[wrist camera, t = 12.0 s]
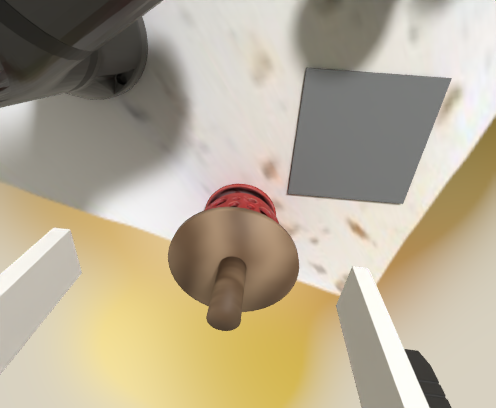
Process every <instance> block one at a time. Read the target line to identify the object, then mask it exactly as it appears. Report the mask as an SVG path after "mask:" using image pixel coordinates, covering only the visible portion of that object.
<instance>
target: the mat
mask: <svg viewBox="0 0 496 408" xmlns="http://www.w3.org/2000/svg"><path fill="white" fill-rule="evenodd" d="M451 79H452V78H441V77H427V76H413V75H399V74H385V73H371V72H357V71H344V70H330V69H316V68H306V74H305V81H304V87H303V94H302V101H301V108H300V114H299V121H298V128H297V135H296V141H295V148H294V155H293V162H292V168H291V175H290V182H289V189H288V194H299V195H310V196H321V197H333V198H344V199H356V200H367V201H378V202H390V203H401V204H403V202H404V200H405V197H406V195H407V192H408V190H409V187H410V184H411V182H412V179H413V177H414V174H415V171H416V169H417V166H418V164H419V161H420V159H421V156H422V153H423V151H424V148H425V146H426V143H427V141H428V138H429V135H430V133H431V130H432V128H433V125H434V123H435V120H436V117H437V115H438V112H439V110H440V107H441V104H442V102H443V99H444V97H445V94H446V92H447V89H448V86H449V84H450V81H451Z"/></svg>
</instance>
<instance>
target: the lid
mask: <svg viewBox="0 0 496 408" xmlns="http://www.w3.org/2000/svg"><path fill="white" fill-rule="evenodd" d="M168 262H169V267H170V270H171V273H172V275H173V277H174V279H175V280H176V282H177V283H178V285H179V286H180V287H181V288H182V289H183V290H184V291H185V292H186V293H187V294H188V295H190V296H191V297H192V298H194V299H195V300H198V301H199V302H201V303H203V304H205V305H207V306H209V309H208V313H207V322H208V323H209V324H210V325H211V326H212V327H213V328H215V329H218V330H222V331H230V330H233V329H235V328H237V327H238V326H239V325H240V322H241V313H242V312H247V311H254V310H259V309H262V308H266V307H268V306H270V305H273V304H275V303H276V302H278V301H280V300H281V299H282V298H283V297H285V296H286V295H287V294H288V292H290V290H291V289H292V287H293V286H294V284H295V282H296V280H297V276H298V272H299V259H298V253H297V249H296V246H295V244H294V242H293V240H292V238H291V237H290V235H289V234H288V233H287V231H286V230H285V229H284V228H283V227H282V226H281V225H280V224H278V223H277V222H276V221H274V220H273V219H271V218H269V217H268V216H266V215H264V214H262V213H259V212H256V211H253V210H250V209H246V208H240V207H218V208H212V209H208V210H205V211H202V212H200V213H198V214H196V215H194V216H192V217H191V218H189V219H188V220H186V221H185V222H184V223H183V224H182V225H181V226H180V228H179V229H178V230H177V232H176V233H175V235H174V237H173V239H172V241H171V244H170V247H169V252H168Z"/></svg>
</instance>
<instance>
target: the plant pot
mask: <svg viewBox="0 0 496 408" xmlns="http://www.w3.org/2000/svg"><path fill="white" fill-rule="evenodd" d="M218 207H240V208H246V209H250V210H253V211H256V212H259V213H262V214H264V215H266V216H268V217H269V218H271V219H273V220H274V221H276V222H277V223H278V224H279V222H278V220H277V218H276V211H275V207H274V205H273V203H272V201H271V199H270V198H269V197H268V196H267V195H266V194H265V193H264V192H263V191H261V190H260V189H258V188H256V187H253V186H251V185H246V184H232V185H228V186H225V187H222V188H220V189H219V190H217V191H216V192H215V193H214V194H213V195H212V196H211V197H210V198H209V200H208V202H207V204H206V208H205V210H208V209H212V208H218Z"/></svg>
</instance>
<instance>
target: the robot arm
mask: <svg viewBox="0 0 496 408" xmlns="http://www.w3.org/2000/svg"><path fill="white" fill-rule="evenodd" d="M162 1H163V0H0V108H1V107H6V106H10V105H14V104H19V103H23V102H27V101H32V100H36V99H40V98H45V97H49V96H53V95H58V94H62V93H67V94H71V95H74V96H78V97H82V98H86V99H107V98H111V97H114V96H117V95H120V94H122V93H124V92H126V91H128V90H129V89H130V88H132V87H133V86H134V85H135V83H136V82H137V81H138V79H139V78H140V76H141V74H142V72H143V70H144V67H145V64H146V59H147V49H148V46H147V34H146V29H145V25H144V21H143V18H142V16H143V15H144V14H146V13H147V12H148V11H150V10H151V9H152V8H154V7H155V6H156V5H158V4H159V3H160V2H162ZM81 273H82V272H81V268H80V264H79V261H78V257H77V253H76V249H75V246H74V242H73V238H72V234H71V231H70V229H62V228H53V229H51V230H50V231H49V232H48V233H47V234H46V235H45V236H43V237H42V238H41V239H40V240H39V241H38V242H36V243H35V244H34V245H33V246H32V247H31V248H30V249H28V250H27V251H26V252H25V253H24V254H23V255H22V256H20V257H19V258H18V259H17V260H16V261H15V262H14V263H12V264H11V265H10V266H9V267H8V268H7V269H6V270H4V271H3V272H2V273H1V274H0V374H1V373H2V372H3V370H4V369H5V368H6V367H7V365H8V364H9V363H10V362H11V360H12V359H13V358H14V357H15V355H16V354H17V353H18V352H19V351H20V349H21V348H22V347H23V346H24V344H25V343H26V342H27V341H28V339H29V338H30V337H31V336H32V334H33V333H34V332H35V331H36V329H37V328H38V327H39V326H40V324H41V323H42V322H43V321H44V319H45V318H46V317H47V316H48V314H49V313H50V312H51V311H52V309H53V308H54V307H55V306H56V304H57V303H58V302H59V301H60V299H61V298H62V297H63V296H64V294H65V293H66V292H67V291H68V290H69V288H70V287H71V286H72V285H73V283H74V282H75V281H76V280H77V278H78V277H79V276H80V275H81ZM336 307H337V312H338V316H339V320H340V323H341V328H342V332H343V336H344V339H345V343H346V347H347V351H348V355H349V359H350V363H351V367H352V371H353V375H354V379H355V383H356V387H357V391H358V395H359V399H360V403H361V407H362V408H451V406H450V404H449V402H448V400H447V399H446V398H445V394H444V392H443V390H442V388H441V386H440V385H439V382H438V379H437V377H436V375H435V373H434V371H433V369H432V367H431V366H430V364H429V363H428V362H427V361H426V360H425V358H424V357H423V356H422V355H421V354H420V352H419V351H415V350H407V349H404V348H403V346H402V343H401V341H400V339H399V336H398V334H397V332H396V330H395V328H394V325H393V323H392V320H391V318H390V316H389V314H388V311H387V309H386V307H385V304H384V302H383V300H382V298H381V295H380V293H379V291H378V288H377V286H376V284H375V281H374V279H373V277H372V275H371V272H370V270H369V268H362V267H354V266H352V268H351V271H350V273H349V276H348V278H347V281H346V283H345V285H344V288H343V290H342V293H341V295H340V298H339V300H338V303H337V305H336Z"/></svg>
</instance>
